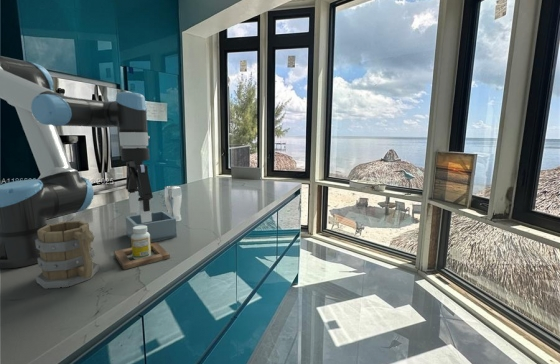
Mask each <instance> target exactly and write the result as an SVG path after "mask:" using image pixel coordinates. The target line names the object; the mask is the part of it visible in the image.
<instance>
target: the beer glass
mask: <svg viewBox="0 0 560 364" xmlns="http://www.w3.org/2000/svg"><path fill="white" fill-rule="evenodd" d="M182 196H183V195H182V187H181V186H180V185H168V186H164V201H165V206H166V209H167V210H166V211H167V214H169V215H171V216H172V217H174V218H175V219H176V223H177V222H180V221H182V215H181V207H182V199H183V197H182Z"/></svg>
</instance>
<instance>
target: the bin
mask: <svg viewBox="0 0 560 364" xmlns="http://www.w3.org/2000/svg"><path fill="white" fill-rule="evenodd" d="M151 216H152V221H150V222H144V223H141V213H140V214H134V215H128V216H125V226H126V229H125V230H126V235H127V236H128V238H129V239H130V240H131V236H132V234H134V232H133V227H135V226H140V225H145V226H147V232H148V233H149V234H150V243H156V242H158V241H163V240H167V239H169V240H170V239H172V238H177V237H178V233H177V222H176V219H175V218H174V217H172V216H171V215H169V214H168V212H166V211H164V210H162V211H154V212H151Z"/></svg>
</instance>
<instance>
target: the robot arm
mask: <svg viewBox="0 0 560 364" xmlns="http://www.w3.org/2000/svg"><path fill="white" fill-rule="evenodd" d="M54 85H55V84H54V81H53V78H52V76H51V74H50V72H49V71H48V69H46V68H45V67H44V66H43V65H40V64H38V63H35V62H33V61H29V60H26V59H25V60H20V59H16V58H11V57H8V56H2V55H0V99H2V100H4V101H6V102H7V104H9V105H11V106H12V107H14V108H15V110H16V112H17V116H18V118H19V121H20V123H21V126H22V130H23V131H24V133H25V136H26V140H27V142H28V144H29V147H30V149H31V153H32V154H33V158H34V160H35V163H36V165H37V168H38V171H39V174H40V175H39V177H38V178H37V179H24V180H15V181H10V182H7V183H3V184H0V269H14V268H15V269H18V268H22V267H28V266H31V265H32V266H33V265H35V264H38V258H39V257H40V250H38V249H37V248H36V244H35V240H36V239H38V232H37V231H38V230H39V229H41V228H43V227H45V226H46V225H48V223H47V220H48V219H52V218H56V217H57V218H58V217H61V216H65V215H69V214H75V213H78V212H81V211H84V210H86V209H88V208H89V207H90V205H91V204H92V202H93V199H94V195H95V194H94V193H95V192H94V186H93V184H92V182H91V181H90V180H89V179H88V178H86V177H83V176H80V173H79V171H78V170H76V169H75V168H72V167H71V164H70V163H71V162H70V160H69V158H68V156H67V153H66V150H65V147H64V145H63V142H62V139H61V137H60V135H59V132H58V129H57V127H91V128H92V127H93V128H98V129H99V128H103V129H105V128H118V132H119V133H118V135H119V146H120V147H122V148H121V149H120V157H121V161H122V162H126V163H125V164H126V179H125V181H126V182H125V186H126V187H125V189H126V190H127V196H128V205H129V214H135V213H140V214H141V223H144V222H150V221H152V216H151V213H152V206H151V204H152V203H151V199H153V197H154V196H153V191H152V187H151V181H150V177H149V172H148V171H149V170H148V165H147V164H144V161H149V160H150V158H151V157H150V149H149V147H148V146H149V140H150V135H148V119H147V118H148V117H147V115H148V114H147V109H148V108H147V104H146V98H145V96H144V95H143V94H141V93H140V92H139V93H138V92H130V91H128V92H127V91H122V92H117V94H116V96H115V100H113V101H112V100H111V101H105V100H96V99H88V98H87V99H86V98H77V97H72V96H67V95H66V96H65V95H63V94H61V93H58V92H56V91H54V88H53V87H54Z"/></svg>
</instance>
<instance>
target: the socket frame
mask: <svg viewBox="0 0 560 364" xmlns="http://www.w3.org/2000/svg"><path fill="white" fill-rule="evenodd" d="M150 245H151V251H152V250H153V252H154V253H155V255H151V256H149V257H145V258H140V259H132V260H130V259H129V257H128V255H132V247H128V248H123V249H119V250H114V251H113V253H114V255H113V256H114V257H115V258H116V260H117V262H118V263H119V264H120V266H121V268H122V269H123V270H128V269H132V268H136V267H141V266H144V265H148V264H152V263H157V262H159V261H163V260H166V259H171V255H170V253H169V252H168V251H167V250H166V249H165V248H163V246H162V245H160V244H159V243H158V241H155V242H150Z"/></svg>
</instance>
